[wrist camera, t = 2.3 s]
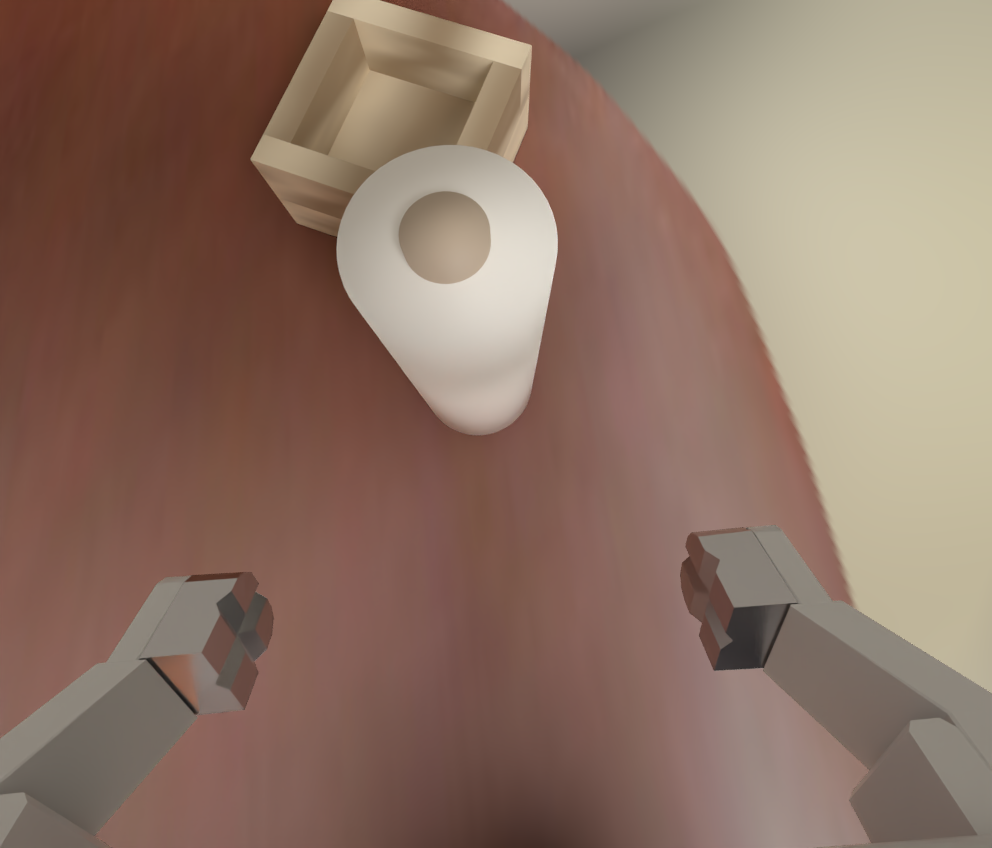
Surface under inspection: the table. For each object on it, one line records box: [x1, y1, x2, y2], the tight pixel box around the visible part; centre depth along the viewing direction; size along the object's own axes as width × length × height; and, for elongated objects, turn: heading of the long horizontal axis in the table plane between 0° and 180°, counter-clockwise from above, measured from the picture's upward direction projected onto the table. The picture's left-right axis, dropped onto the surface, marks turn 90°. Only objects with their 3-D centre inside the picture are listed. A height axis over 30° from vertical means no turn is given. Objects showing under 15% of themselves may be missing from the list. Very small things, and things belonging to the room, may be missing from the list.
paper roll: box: [336, 145, 558, 435], centre depth 17 cm, size 5×5×12 cm
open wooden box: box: [250, 0, 532, 237], centre depth 23 cm, size 9×9×4 cm
